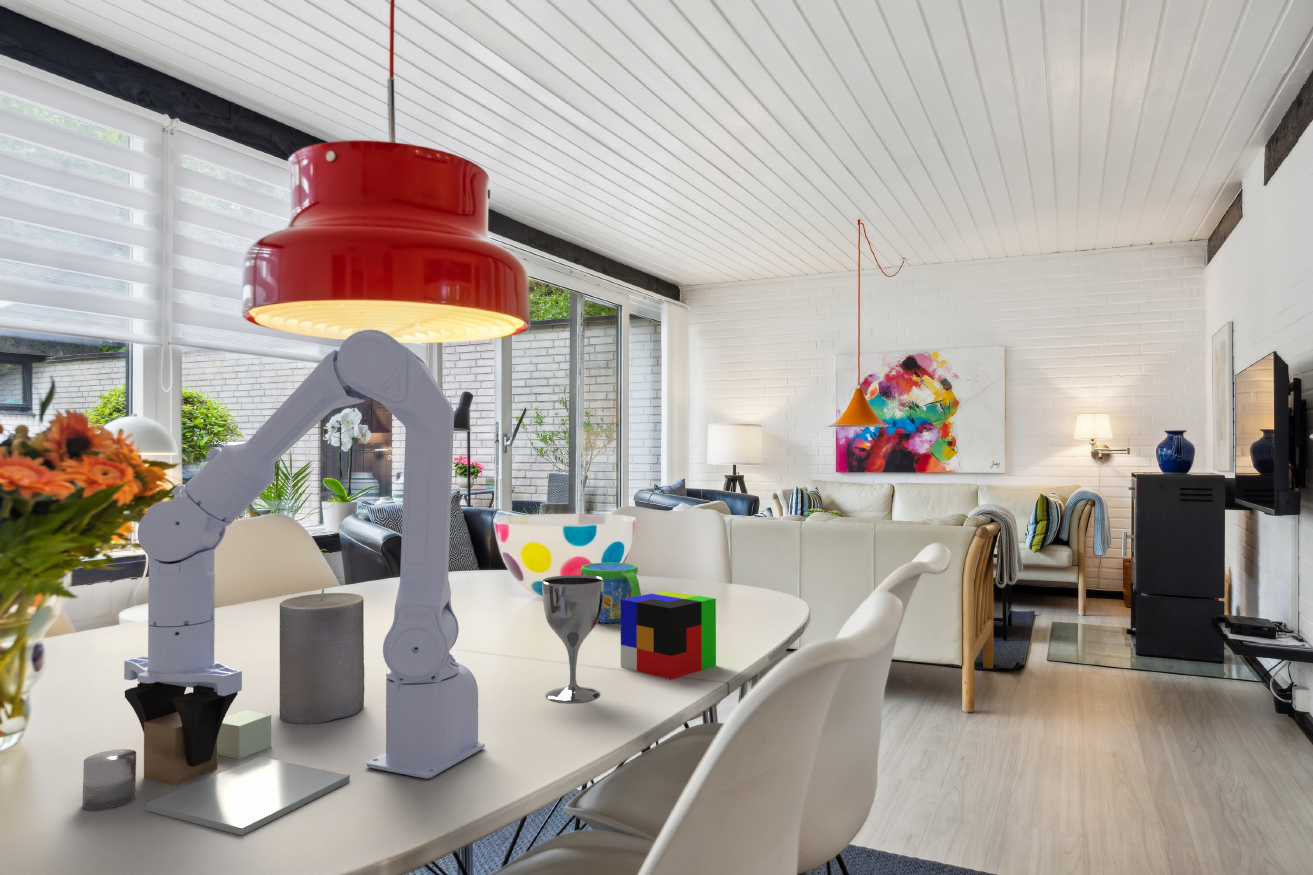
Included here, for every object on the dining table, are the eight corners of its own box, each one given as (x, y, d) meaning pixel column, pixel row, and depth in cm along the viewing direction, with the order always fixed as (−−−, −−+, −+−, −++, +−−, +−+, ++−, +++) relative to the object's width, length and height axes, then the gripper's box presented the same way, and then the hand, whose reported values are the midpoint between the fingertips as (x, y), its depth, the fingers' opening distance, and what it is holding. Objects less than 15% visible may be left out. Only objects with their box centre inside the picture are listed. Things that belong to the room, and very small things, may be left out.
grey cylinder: (118, 789, 77) (119, 746, 77) (145, 796, 75) (146, 753, 75) (72, 805, 73) (73, 760, 73) (99, 813, 72) (101, 767, 72)
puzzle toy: (620, 667, 120) (620, 599, 120) (666, 654, 128) (665, 590, 128) (671, 679, 113) (670, 608, 114) (716, 666, 121) (715, 598, 121)
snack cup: (656, 623, 150) (656, 568, 151) (609, 630, 144) (609, 573, 144) (609, 610, 163) (609, 559, 163) (563, 616, 157) (563, 563, 157)
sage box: (245, 741, 90) (245, 709, 90) (271, 746, 88) (271, 714, 88) (212, 754, 86) (212, 721, 86) (239, 759, 85) (239, 726, 85)
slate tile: (260, 762, 83) (259, 756, 83) (349, 781, 79) (349, 775, 79) (145, 810, 72) (145, 803, 72) (242, 835, 68) (242, 827, 68)
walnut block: (186, 762, 84) (186, 708, 84) (217, 769, 82) (217, 714, 82) (143, 778, 80) (144, 722, 80) (175, 785, 78) (175, 728, 78)
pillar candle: (302, 698, 105) (301, 582, 105) (376, 698, 105) (376, 582, 105) (263, 725, 95) (262, 596, 95) (345, 725, 95) (344, 596, 95)
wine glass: (535, 690, 108) (535, 577, 109) (592, 683, 112) (591, 573, 112) (551, 707, 101) (551, 586, 101) (612, 699, 104) (611, 582, 105)
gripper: (93, 622, 80) (92, 761, 80) (195, 635, 74) (194, 785, 74) (162, 610, 87) (161, 738, 86) (260, 621, 81) (259, 758, 81)
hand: (181, 758), depth 81 cm, fingers open, 5 cm apart
